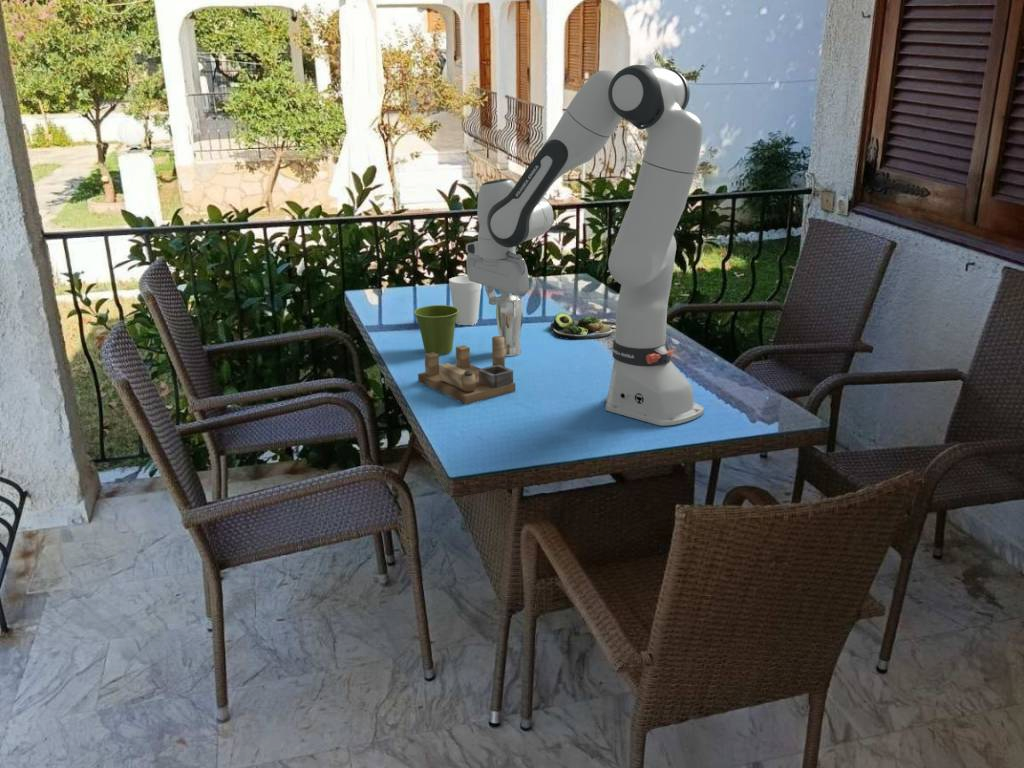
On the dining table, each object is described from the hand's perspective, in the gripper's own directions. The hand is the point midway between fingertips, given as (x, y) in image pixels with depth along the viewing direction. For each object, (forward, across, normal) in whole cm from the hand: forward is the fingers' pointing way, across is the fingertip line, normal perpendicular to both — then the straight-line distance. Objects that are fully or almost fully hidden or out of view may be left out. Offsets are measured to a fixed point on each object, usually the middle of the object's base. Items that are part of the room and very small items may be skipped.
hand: (497, 305), depth 223 cm
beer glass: (+17, +11, -12) cm, 24 cm away
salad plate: (+18, +15, -40) cm, 46 cm away
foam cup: (+17, +42, -20) cm, 50 cm away
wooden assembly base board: (+17, -3, +12) cm, 21 cm away
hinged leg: (+15, -6, +16) cm, 23 cm away
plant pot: (+17, +24, +2) cm, 30 cm away
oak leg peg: (+17, 0, 0) cm, 17 cm away
